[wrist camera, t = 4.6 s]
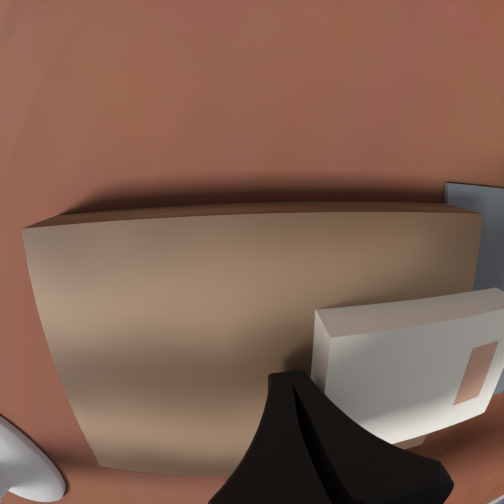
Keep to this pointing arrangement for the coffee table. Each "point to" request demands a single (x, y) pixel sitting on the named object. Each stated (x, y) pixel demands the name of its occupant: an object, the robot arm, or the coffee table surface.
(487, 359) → the white box with patch
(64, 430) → the coffee table surface
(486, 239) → the mat
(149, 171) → the coffee table surface
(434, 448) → the coffee table surface
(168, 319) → the brown box
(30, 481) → the candlestick
